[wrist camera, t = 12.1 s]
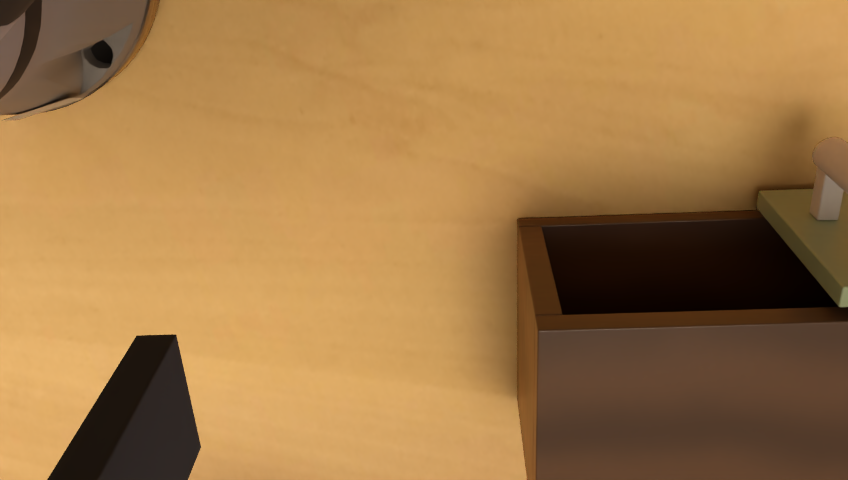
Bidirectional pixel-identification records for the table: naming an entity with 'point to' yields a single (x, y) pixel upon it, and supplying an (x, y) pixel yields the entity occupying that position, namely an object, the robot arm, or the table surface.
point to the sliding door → (817, 219)
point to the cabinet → (676, 351)
